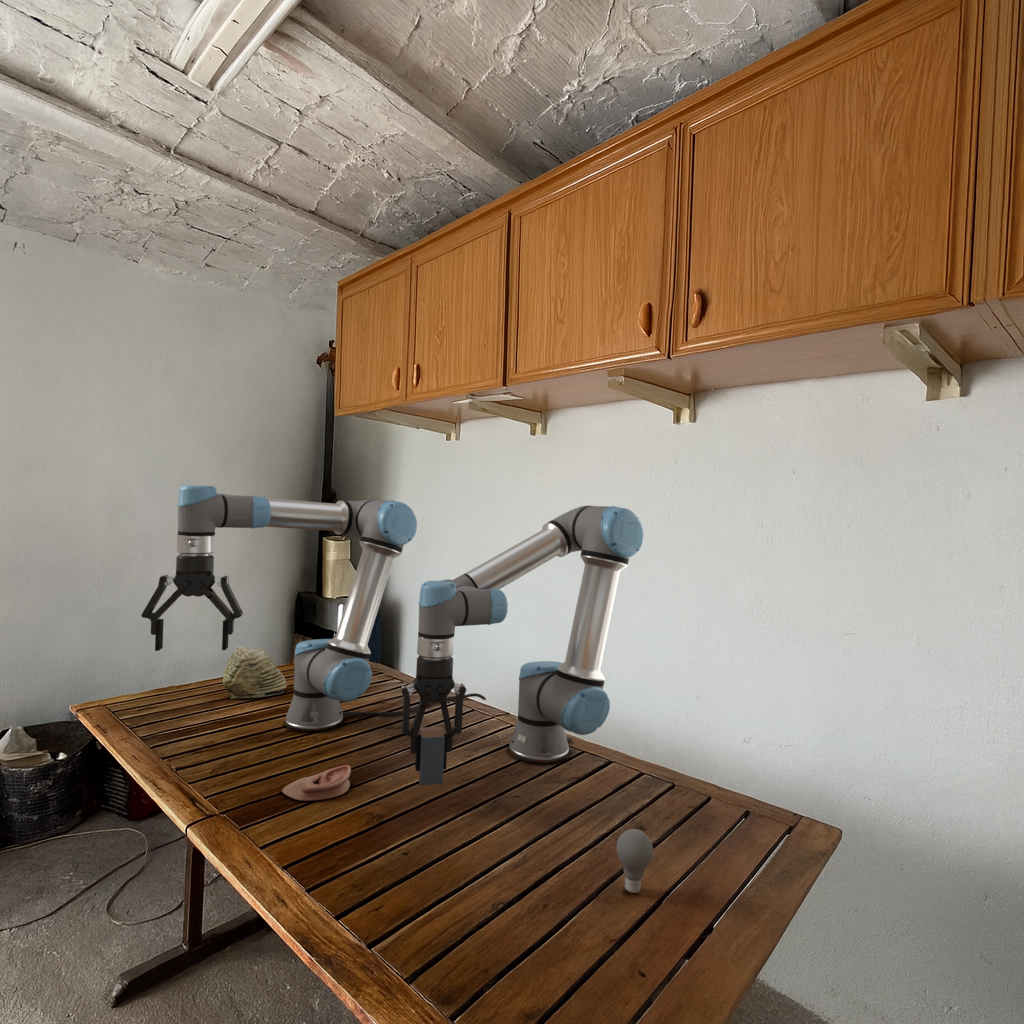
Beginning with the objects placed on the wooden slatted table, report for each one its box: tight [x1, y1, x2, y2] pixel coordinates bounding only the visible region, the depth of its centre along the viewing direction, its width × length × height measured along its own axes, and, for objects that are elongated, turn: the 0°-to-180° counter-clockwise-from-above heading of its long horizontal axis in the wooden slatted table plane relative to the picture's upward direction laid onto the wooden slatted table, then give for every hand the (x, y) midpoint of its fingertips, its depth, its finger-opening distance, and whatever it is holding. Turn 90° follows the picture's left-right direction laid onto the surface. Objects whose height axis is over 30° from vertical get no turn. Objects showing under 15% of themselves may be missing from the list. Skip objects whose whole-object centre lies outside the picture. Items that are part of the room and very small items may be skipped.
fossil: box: [222, 646, 288, 699], centre depth 198 cm, size 9×18×15 cm, turn 132°
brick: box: [416, 726, 445, 786], centre depth 132 cm, size 5×6×10 cm
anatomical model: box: [281, 764, 352, 802], centre depth 137 cm, size 13×4×12 cm
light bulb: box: [615, 828, 654, 894], centre depth 106 cm, size 6×6×10 cm
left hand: (192, 649), depth 141 cm, fingers open, 13 cm apart
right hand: (430, 767), depth 132 cm, fingers closed on brick, 5 cm apart
